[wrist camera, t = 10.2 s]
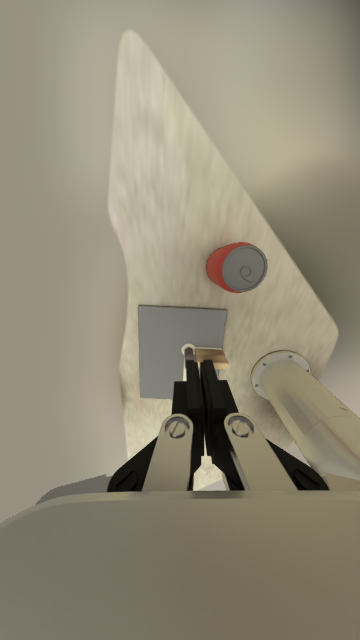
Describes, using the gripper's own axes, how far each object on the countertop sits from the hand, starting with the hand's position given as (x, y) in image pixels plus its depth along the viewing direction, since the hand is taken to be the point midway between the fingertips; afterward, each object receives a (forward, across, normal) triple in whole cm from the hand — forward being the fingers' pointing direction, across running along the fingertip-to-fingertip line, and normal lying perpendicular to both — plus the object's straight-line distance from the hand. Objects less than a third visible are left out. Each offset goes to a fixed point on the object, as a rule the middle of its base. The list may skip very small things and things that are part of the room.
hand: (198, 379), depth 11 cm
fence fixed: (+24, -4, +11) cm, 27 cm away
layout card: (+25, +2, +12) cm, 28 cm away
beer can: (+25, -7, -6) cm, 27 cm away
